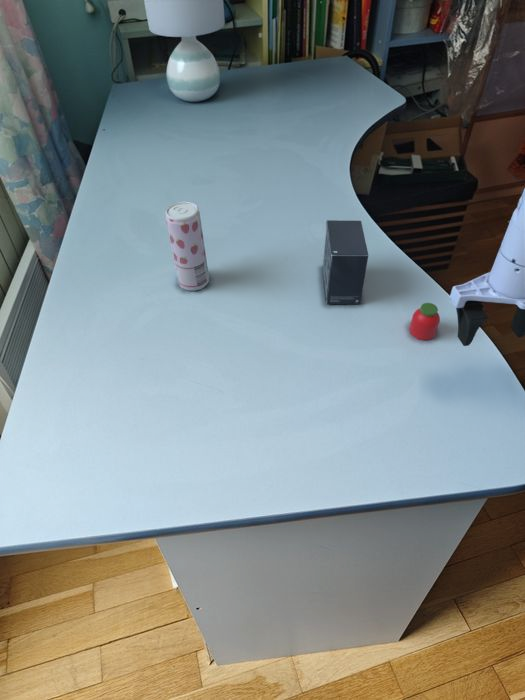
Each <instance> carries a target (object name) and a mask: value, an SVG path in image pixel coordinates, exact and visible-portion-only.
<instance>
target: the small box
mask: <svg viewBox="0 0 525 700" xmlns="http://www.w3.org/2000/svg"><path fill="white" fill-rule="evenodd" d="M325 223H326V225H325V228H326V229H325V230H326V231H325V238H324V239H325V240H324V248H323V249H324V251H323V259H322V268H321V269H322V271H321V272H322V282H323V292H324V293H323V294H324V301H325V302H324V303H325V304H326V305H361V303H362V302H361V301H362V296H363V290H364V283H365V279H366V273H367V266H368V262H369V256H370V255H369V251H368V247H367V246H368V245H367V242H366V237H365V232H364V228H363V223H362V221H361V220H337V219H336V220H335V219H334V220H332V219H330V220H326V222H325Z"/></svg>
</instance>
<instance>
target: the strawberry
mask: <svg viewBox="0 0 525 700" xmlns="http://www.w3.org/2000/svg"><path fill="white" fill-rule="evenodd" d="M438 311H439V308H438V306H437V305H436V304H434V303H431V302H424V303H422V304H421V305H420V308H417V310H415V311H414V313H413V315H412V318H411V320H410V325H409V328H408V329H409V333H410V334H411V336H412V337H414V338H415V339H417V340H420V341H429V340H433V339H434V338H435V337H436V335H437V332H438V328H439V326H440V321H441V318H440V317H441V316H440V314H439V312H438Z"/></svg>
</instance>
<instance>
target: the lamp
mask: <svg viewBox="0 0 525 700" xmlns="http://www.w3.org/2000/svg"><path fill="white" fill-rule="evenodd" d="M143 3H144V8H145V14H146V19H147V25H148V30H149V31H150V32H151V33H152V34H154V35H156V36H157V35H158V36H162V37H171V38H181V39H180V40H181V41H180V42H179V43H178V44H177V45H176V46H175V48H174V49H173V50H172V52H171V54H170V56H169V58H168V61H167V65H166V71H165V72H166V82H167V85H168V88H169V89H170V92H171V93H172V94H173V95H174V96H175V97H176V98H178V99H180V100H182V101H186V102H188V103H197V102H198V103H199V102H203V101H206V100H208V99H211V97H213V96H214V95H215V94H216V92H217V91H218V90H219V87H220V84H221V71H220V67H219V65H218V62H217V60H216V58H215V56H214V55H213V53H212V52H211V51H210V49H208V48H207V47H206V46H205V45H204V44H203V43H202V42H200V41H199V40H198V39H197V36H203V35H207V34H211V33H212V34H213V33H214V32H218V31H219V30H221V29H222V28H224V27H225V25H226V22H225V20H226V19H225V9H224V0H143Z"/></svg>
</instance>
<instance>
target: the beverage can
mask: <svg viewBox="0 0 525 700" xmlns="http://www.w3.org/2000/svg"><path fill="white" fill-rule="evenodd" d="M201 219H202V218H201V213H200V210H199V207H198V206H197V205H196V204H195V203H194V202H190V201H178V202H174V203H172V204H170V205H169V206H168V207H167V208H166V210H165V221H166V225H167V231H168V236H169V241H170V246H171V251H172V256H173V262H174V266H175V272H176V277H177V282H178V285H179V286H180V287H181V288H182V289H184V290H186V291H189V292H190V291H191V292H192V291H199V290H202V289H203V288H206V286H207V285H208V284H209V282H210V275H209V267H208V261H207V253H206V248H205V247H206V246H205V240H204V233H203V226H202V220H201Z"/></svg>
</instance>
